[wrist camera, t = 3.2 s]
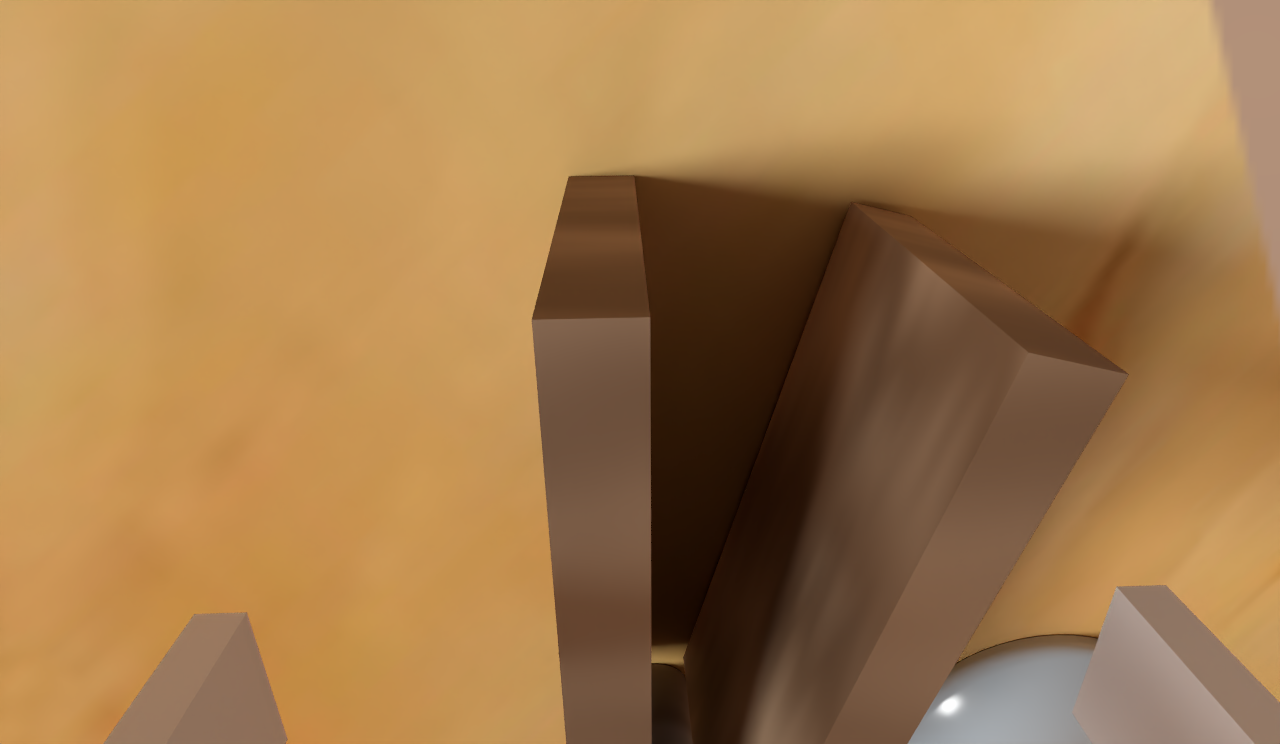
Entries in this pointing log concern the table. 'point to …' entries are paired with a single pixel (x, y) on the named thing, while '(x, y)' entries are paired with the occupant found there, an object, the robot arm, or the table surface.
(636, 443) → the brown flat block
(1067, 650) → the grey domed disc
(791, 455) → the tongs hinged jaw
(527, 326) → the table surface
